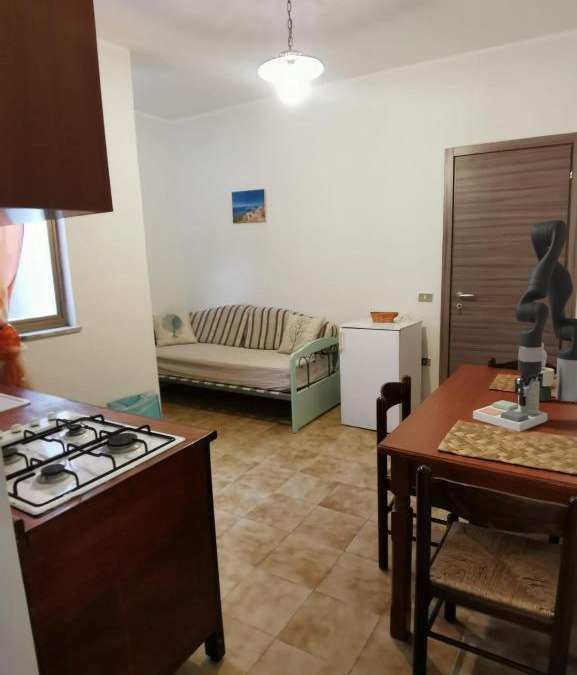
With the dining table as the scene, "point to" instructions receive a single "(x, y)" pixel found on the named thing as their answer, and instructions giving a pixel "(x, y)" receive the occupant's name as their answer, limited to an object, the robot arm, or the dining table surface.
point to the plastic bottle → (543, 356)
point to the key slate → (532, 414)
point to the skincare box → (531, 399)
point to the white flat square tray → (508, 423)
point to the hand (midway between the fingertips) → (528, 403)
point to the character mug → (547, 383)
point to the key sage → (505, 405)
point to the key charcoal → (514, 416)
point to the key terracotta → (491, 411)
